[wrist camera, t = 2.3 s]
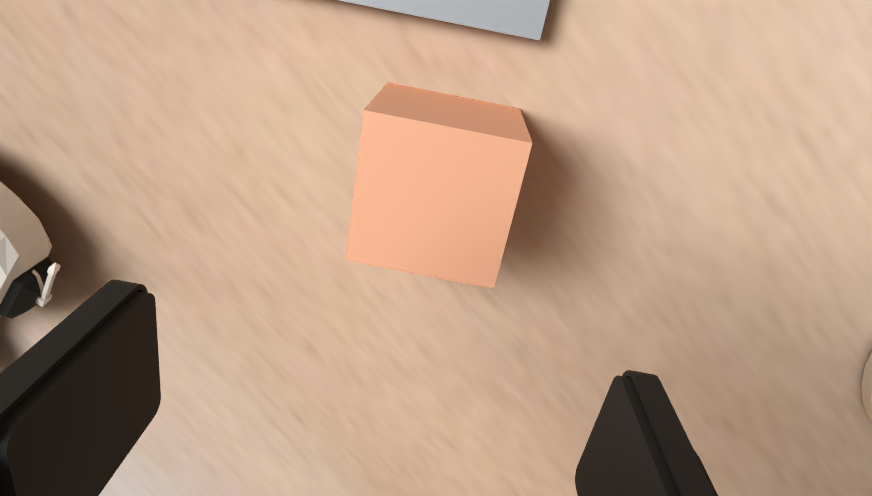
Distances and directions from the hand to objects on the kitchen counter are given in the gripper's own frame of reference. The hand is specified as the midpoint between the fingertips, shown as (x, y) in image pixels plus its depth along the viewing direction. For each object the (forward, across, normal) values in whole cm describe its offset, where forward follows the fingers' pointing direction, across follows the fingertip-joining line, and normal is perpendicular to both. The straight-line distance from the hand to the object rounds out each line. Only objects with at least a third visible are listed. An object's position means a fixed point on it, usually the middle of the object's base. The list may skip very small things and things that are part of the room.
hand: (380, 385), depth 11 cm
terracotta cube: (+16, -1, 0) cm, 16 cm away
